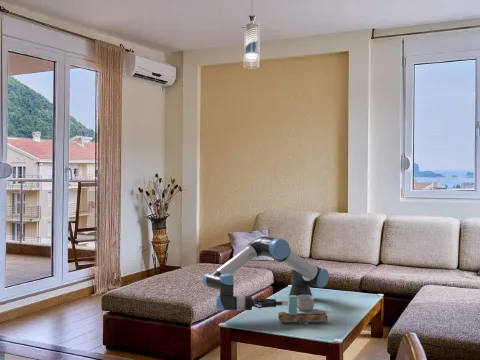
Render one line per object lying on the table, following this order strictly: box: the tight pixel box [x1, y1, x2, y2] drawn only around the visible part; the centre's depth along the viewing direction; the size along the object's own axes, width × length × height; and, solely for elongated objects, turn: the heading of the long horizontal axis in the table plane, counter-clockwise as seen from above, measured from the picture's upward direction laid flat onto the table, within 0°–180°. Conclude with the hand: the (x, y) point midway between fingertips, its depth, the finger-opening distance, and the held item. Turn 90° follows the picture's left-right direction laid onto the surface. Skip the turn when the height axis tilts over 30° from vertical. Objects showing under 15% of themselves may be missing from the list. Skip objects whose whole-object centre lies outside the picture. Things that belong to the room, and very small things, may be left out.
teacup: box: [297, 295, 315, 312], centre depth 314 cm, size 14×11×8 cm
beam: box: [277, 311, 329, 326], centre depth 288 cm, size 26×7×6 cm, turn 92°
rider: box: [288, 294, 298, 316], centre depth 287 cm, size 4×4×12 cm
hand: (287, 302), depth 286 cm, fingers closed
